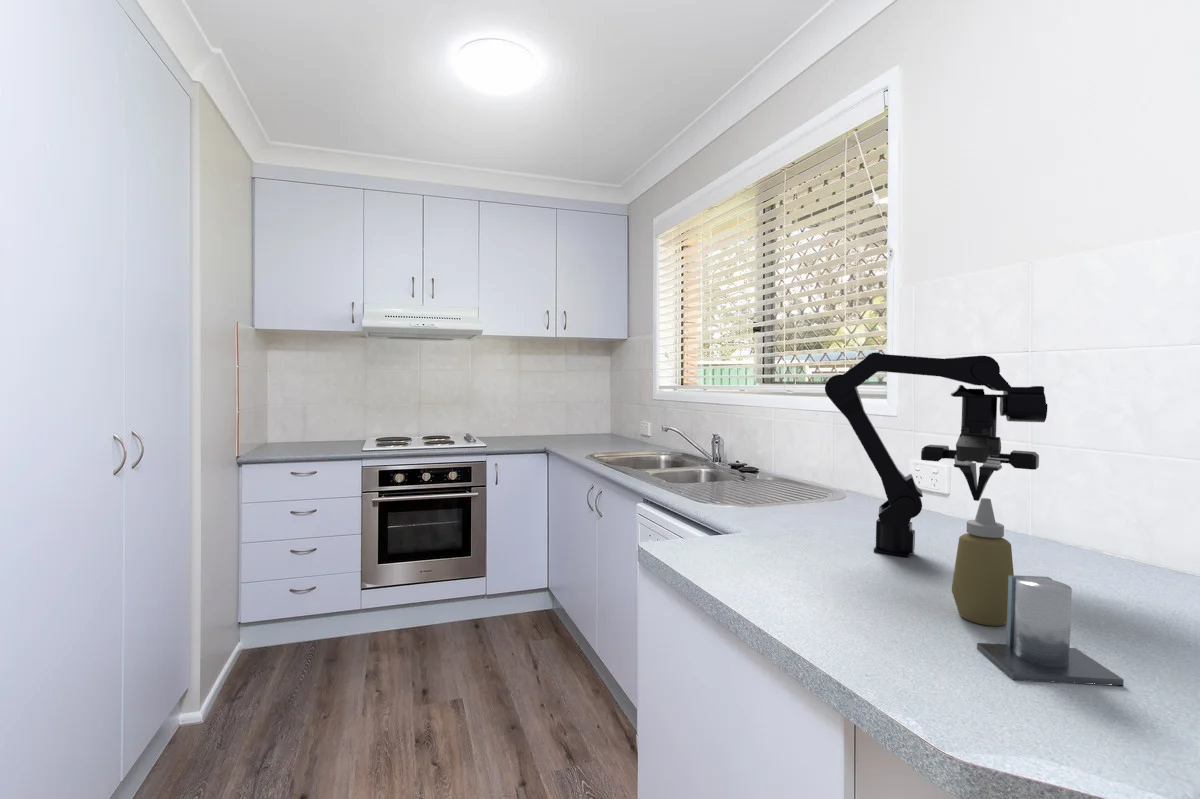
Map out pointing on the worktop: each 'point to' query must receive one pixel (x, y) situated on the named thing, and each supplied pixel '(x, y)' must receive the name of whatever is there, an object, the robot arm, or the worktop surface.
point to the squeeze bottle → (983, 569)
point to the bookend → (1043, 636)
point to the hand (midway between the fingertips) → (976, 500)
